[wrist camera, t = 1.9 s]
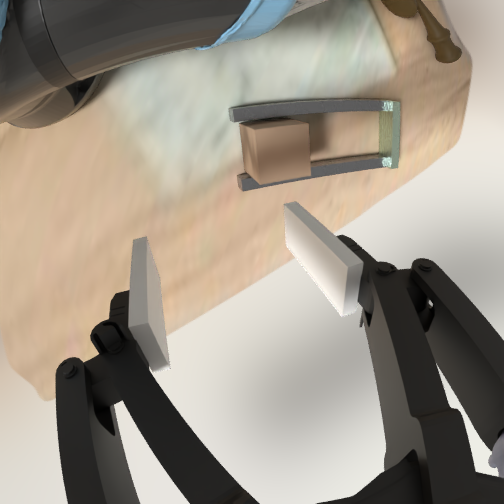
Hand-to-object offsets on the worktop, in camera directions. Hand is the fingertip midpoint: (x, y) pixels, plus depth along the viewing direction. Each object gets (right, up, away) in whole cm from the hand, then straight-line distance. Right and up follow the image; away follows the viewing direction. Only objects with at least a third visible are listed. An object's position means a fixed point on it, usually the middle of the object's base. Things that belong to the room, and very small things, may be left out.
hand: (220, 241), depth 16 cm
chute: (+10, +15, +21) cm, 27 cm away
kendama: (+26, +37, +14) cm, 47 cm away
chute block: (+3, +13, +19) cm, 23 cm away
